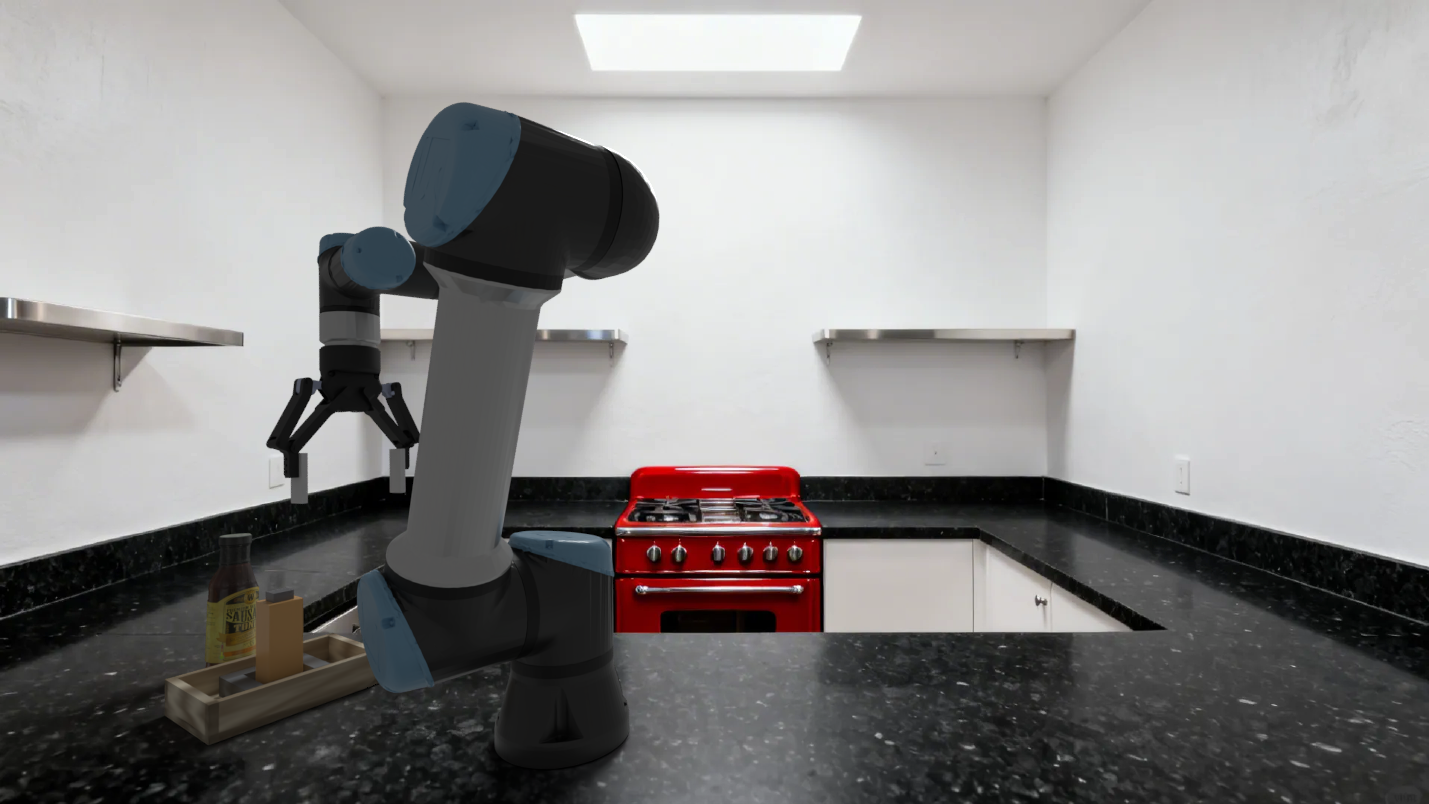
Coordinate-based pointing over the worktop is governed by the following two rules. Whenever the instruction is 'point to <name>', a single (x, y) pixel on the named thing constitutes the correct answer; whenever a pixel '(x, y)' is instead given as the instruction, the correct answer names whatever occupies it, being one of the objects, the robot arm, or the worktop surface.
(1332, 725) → the worktop surface
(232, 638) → the sauce bottle
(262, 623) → the tan tall block
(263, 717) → the walled box
